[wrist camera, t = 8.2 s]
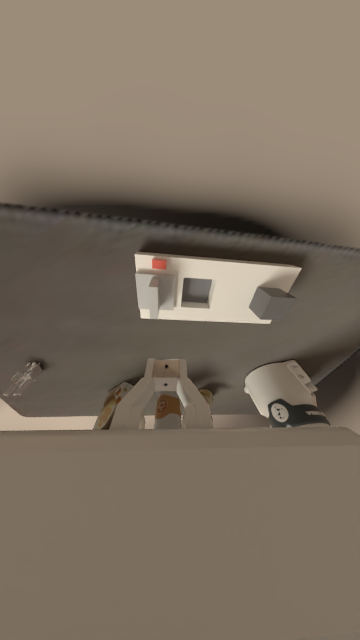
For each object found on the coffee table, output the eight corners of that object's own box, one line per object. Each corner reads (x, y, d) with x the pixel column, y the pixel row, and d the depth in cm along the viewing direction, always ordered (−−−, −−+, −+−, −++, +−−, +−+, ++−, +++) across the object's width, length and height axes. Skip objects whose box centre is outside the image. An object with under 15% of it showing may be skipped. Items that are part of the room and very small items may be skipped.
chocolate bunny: (208, 385, 45) (217, 421, 36) (213, 396, 49) (221, 429, 41) (193, 389, 45) (197, 424, 37) (198, 399, 50) (204, 432, 42)
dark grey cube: (279, 288, 23) (297, 298, 20) (268, 308, 25) (282, 320, 22) (257, 286, 23) (271, 296, 19) (248, 307, 25) (260, 319, 22)
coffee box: (124, 380, 41) (101, 454, 27) (140, 388, 44) (126, 457, 30) (107, 391, 44) (78, 462, 31) (123, 398, 47) (104, 465, 34)
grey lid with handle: (175, 275, 21) (176, 284, 17) (173, 308, 24) (173, 322, 21) (136, 272, 20) (128, 281, 17) (139, 307, 23) (133, 320, 20)
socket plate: (290, 264, 23) (306, 269, 20) (263, 317, 29) (272, 326, 27) (138, 251, 21) (133, 255, 18) (143, 311, 27) (140, 320, 24)
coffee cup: (172, 380, 42) (172, 443, 29) (185, 391, 46) (190, 450, 34) (151, 388, 44) (142, 450, 32) (165, 398, 48) (163, 456, 36)
